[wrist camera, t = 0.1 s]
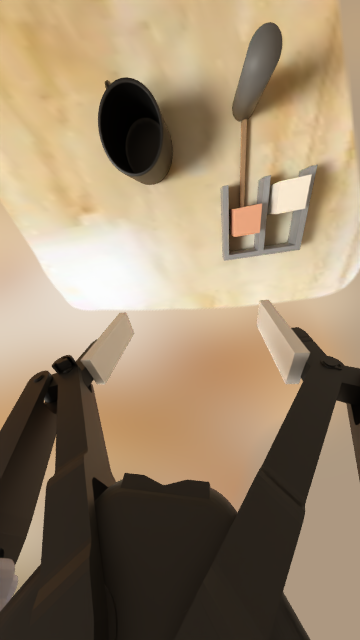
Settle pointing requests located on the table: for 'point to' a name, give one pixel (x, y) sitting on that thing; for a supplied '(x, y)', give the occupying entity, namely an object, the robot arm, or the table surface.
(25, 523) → the robot arm
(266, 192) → the lane shelf
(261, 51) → the block
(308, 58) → the table surface
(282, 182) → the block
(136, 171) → the mug
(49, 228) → the table surface
